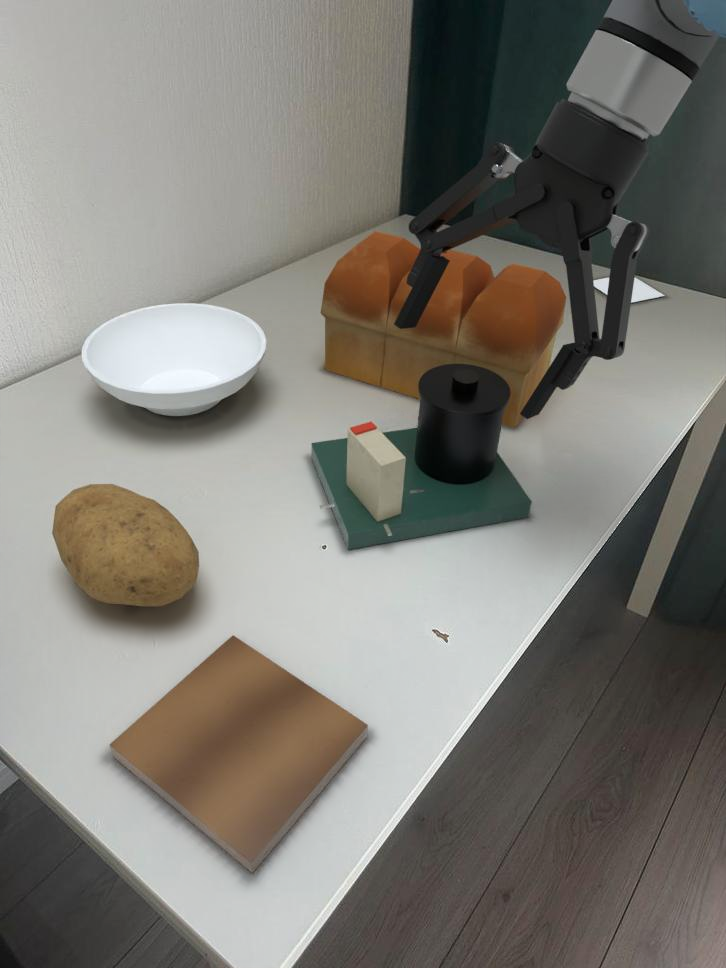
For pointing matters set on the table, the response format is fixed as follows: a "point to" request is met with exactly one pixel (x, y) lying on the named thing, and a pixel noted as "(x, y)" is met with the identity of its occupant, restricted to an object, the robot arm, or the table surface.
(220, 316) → the bowl
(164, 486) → the table surface
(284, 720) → the board
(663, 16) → the robot arm
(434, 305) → the bread
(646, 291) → the coaster
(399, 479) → the cream juice carton
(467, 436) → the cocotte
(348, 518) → the green rectangular slab
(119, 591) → the potato
